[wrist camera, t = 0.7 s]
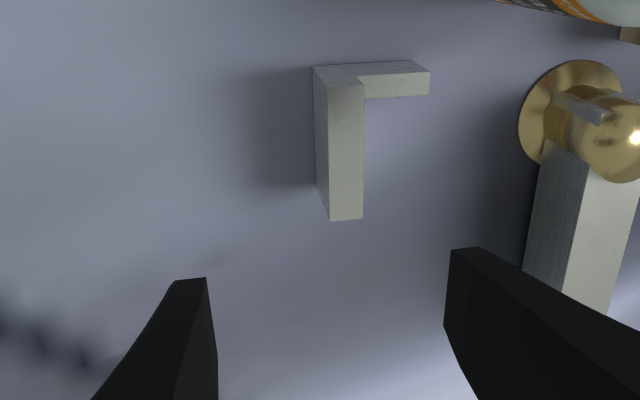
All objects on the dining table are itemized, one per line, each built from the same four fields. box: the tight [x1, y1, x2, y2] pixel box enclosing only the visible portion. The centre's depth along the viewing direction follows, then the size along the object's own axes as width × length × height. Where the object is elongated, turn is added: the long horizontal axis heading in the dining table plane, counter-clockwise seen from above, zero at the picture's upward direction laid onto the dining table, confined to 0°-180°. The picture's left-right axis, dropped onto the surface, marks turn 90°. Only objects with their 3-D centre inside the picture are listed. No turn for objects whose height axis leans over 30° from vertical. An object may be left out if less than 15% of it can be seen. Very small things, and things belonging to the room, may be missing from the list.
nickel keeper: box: [312, 60, 430, 222], centre depth 19 cm, size 4×5×3 cm
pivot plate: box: [518, 60, 622, 164], centre depth 22 cm, size 5×5×1 cm
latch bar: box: [522, 85, 640, 315], centre depth 22 cm, size 10×3×3 cm, turn 2°
